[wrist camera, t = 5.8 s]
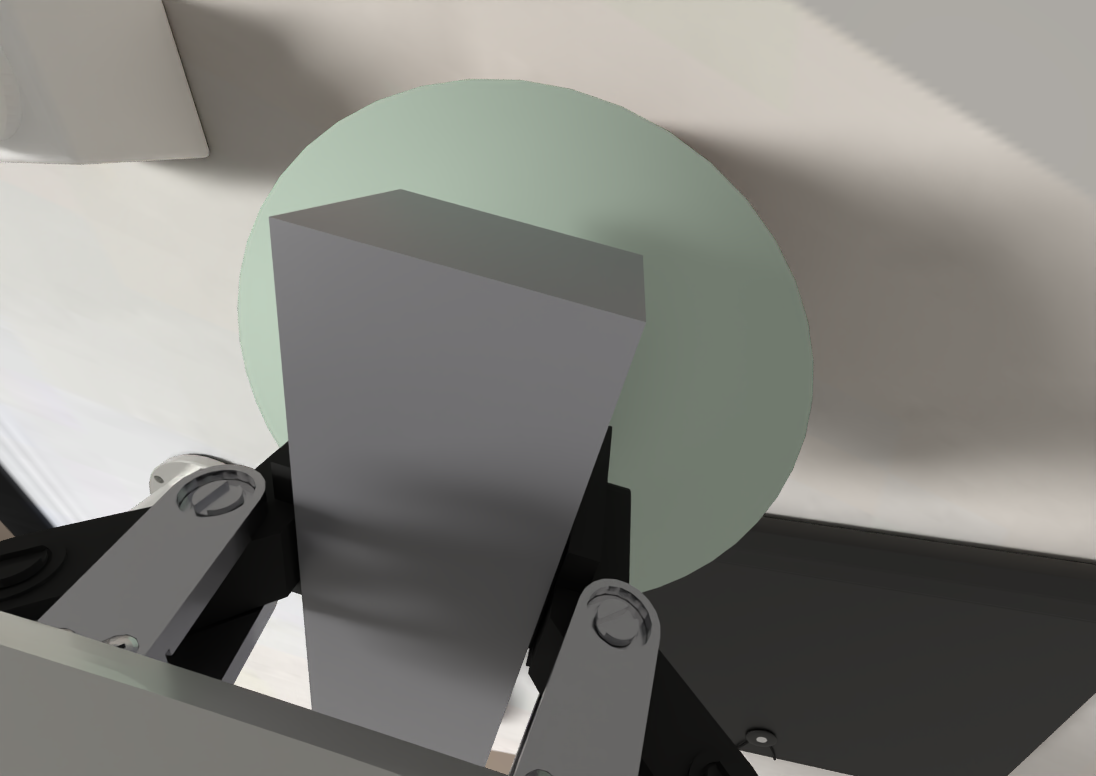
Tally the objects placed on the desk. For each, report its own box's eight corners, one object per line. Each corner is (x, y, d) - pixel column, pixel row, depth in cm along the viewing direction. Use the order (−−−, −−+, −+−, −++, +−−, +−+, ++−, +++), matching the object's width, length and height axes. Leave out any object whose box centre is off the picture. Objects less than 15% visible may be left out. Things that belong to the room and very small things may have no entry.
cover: (930, 187, 9) (1471, 277, 3) (670, 613, 17) (689, 878, 11) (249, 9, 10) (-361, -196, 4) (292, 498, 17) (110, 689, 11)
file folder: (559, 715, 41) (570, 516, 29) (566, 669, 44) (578, 475, 33) (976, 810, 35) (1192, 612, 24) (946, 749, 39) (1121, 551, 27)
